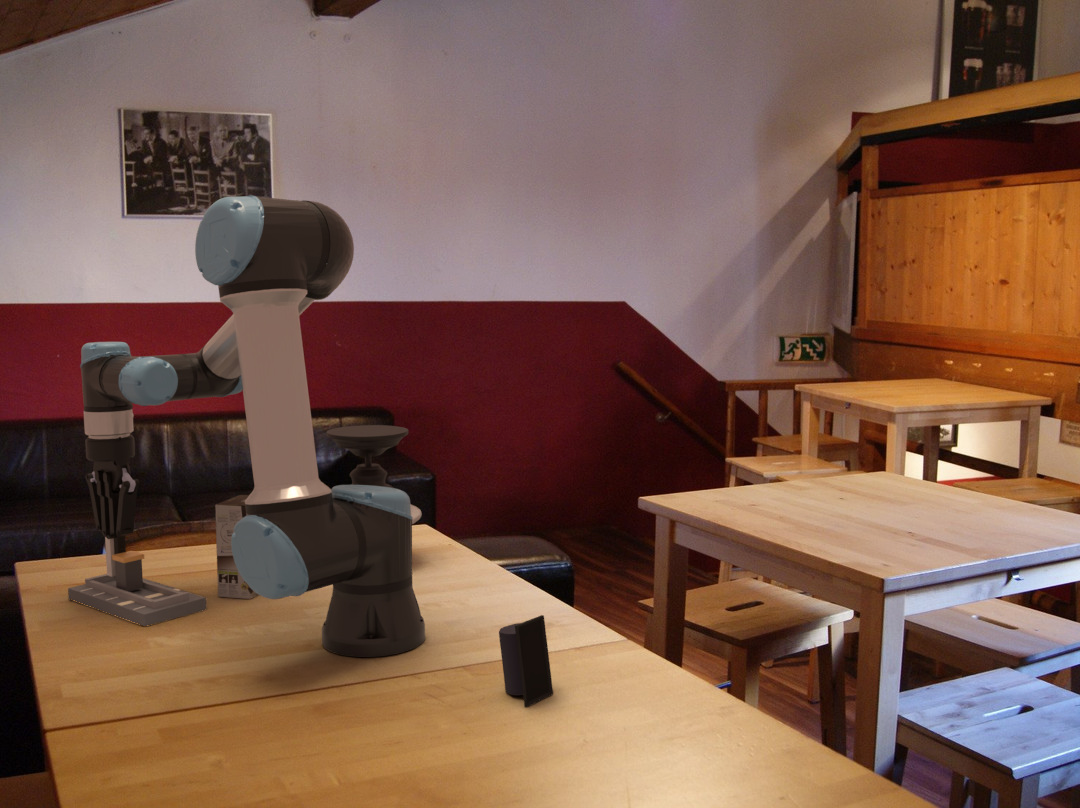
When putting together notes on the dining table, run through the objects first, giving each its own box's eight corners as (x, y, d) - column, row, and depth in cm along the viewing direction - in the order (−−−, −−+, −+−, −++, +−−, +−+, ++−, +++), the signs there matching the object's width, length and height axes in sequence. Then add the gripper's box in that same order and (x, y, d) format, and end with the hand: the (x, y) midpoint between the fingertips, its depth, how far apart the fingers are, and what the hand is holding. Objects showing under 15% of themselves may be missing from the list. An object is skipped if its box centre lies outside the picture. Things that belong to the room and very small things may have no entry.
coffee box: (252, 599, 175) (248, 505, 173) (216, 597, 176) (213, 503, 174) (276, 584, 184) (273, 494, 182) (242, 582, 185) (239, 493, 183)
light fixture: (314, 554, 204) (310, 425, 201) (413, 547, 209) (411, 421, 206) (322, 582, 185) (318, 440, 182) (430, 573, 190) (428, 435, 188)
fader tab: (145, 587, 174) (144, 553, 173) (125, 592, 171) (123, 558, 170) (133, 584, 176) (132, 550, 175) (113, 589, 173) (112, 554, 172)
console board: (206, 609, 170) (205, 590, 169) (144, 627, 161) (144, 606, 161) (129, 584, 184) (128, 567, 183) (68, 599, 175) (67, 581, 175)
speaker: (565, 696, 133) (557, 616, 133) (525, 708, 130) (517, 626, 130) (535, 683, 140) (528, 606, 139) (497, 693, 137) (489, 615, 136)
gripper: (152, 436, 172) (158, 575, 174) (110, 429, 180) (116, 563, 182) (109, 441, 166) (117, 585, 168) (67, 434, 174) (75, 572, 176)
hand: (116, 574), depth 175 cm, fingers closed
